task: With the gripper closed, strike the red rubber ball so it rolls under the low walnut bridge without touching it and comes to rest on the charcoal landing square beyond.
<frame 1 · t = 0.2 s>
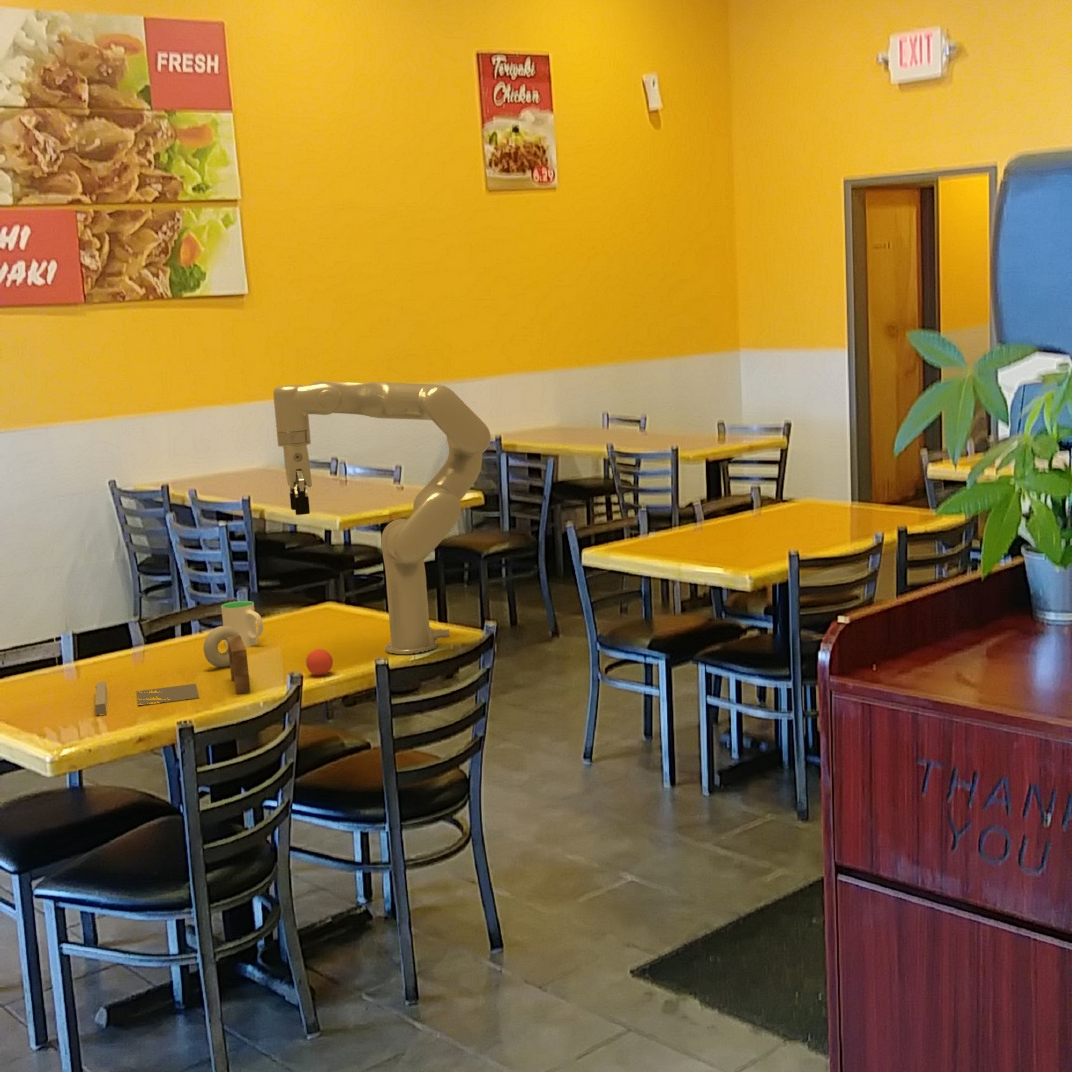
hand: (300, 511, 329), 36 cm above the table, tool pointing down, fingers open, 9 cm apart
ball: (319, 662, 322), on the table
mug: (247, 645, 358), on the table
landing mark: (167, 695, 313), on the table
stopper wall: (101, 703, 309), on the table
bridge: (240, 685, 317), on the table
donut: (225, 667, 336), on the table
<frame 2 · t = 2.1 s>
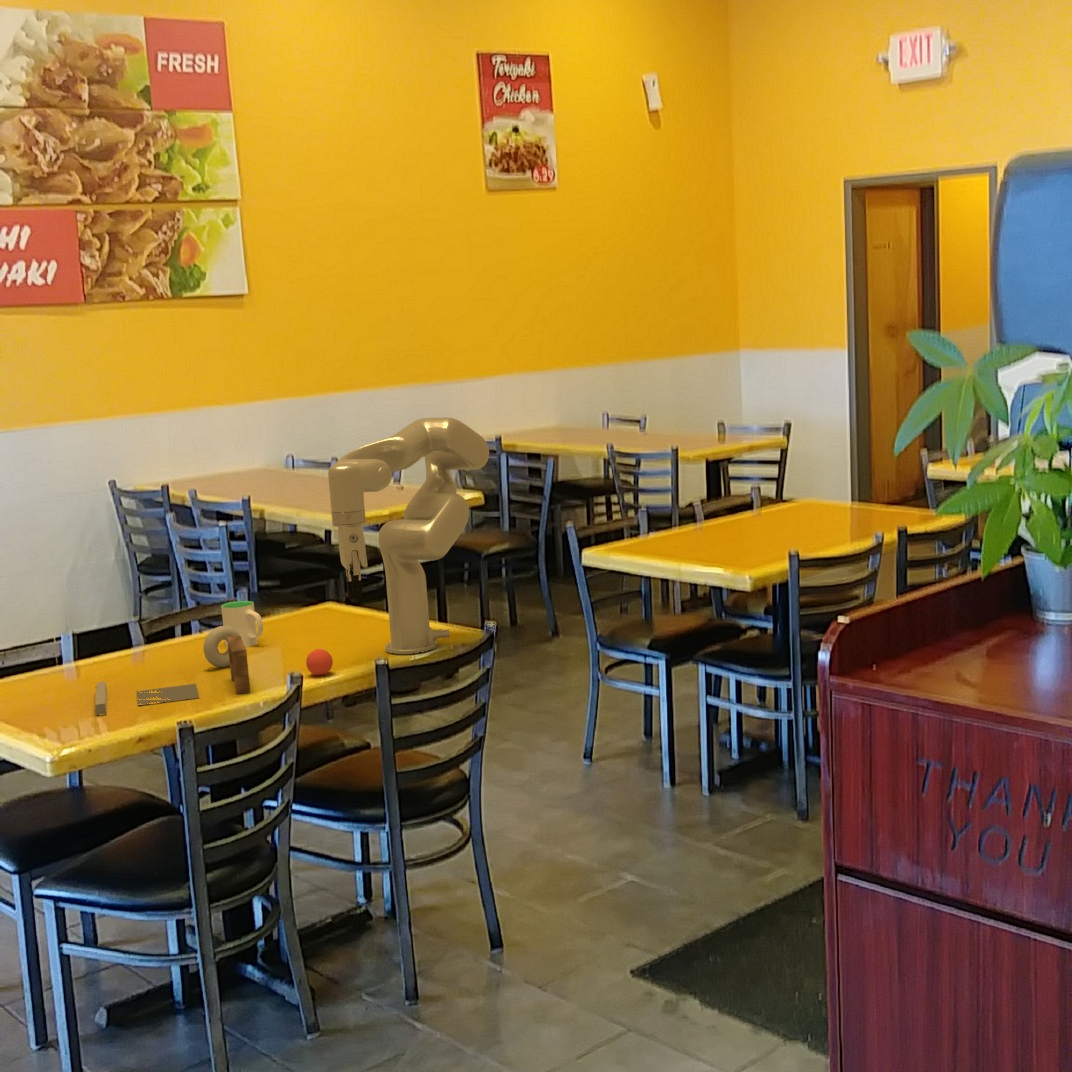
hand: (355, 597, 322), 17 cm above the table, tool pointing down, fingers closed
nothing on the table moved.
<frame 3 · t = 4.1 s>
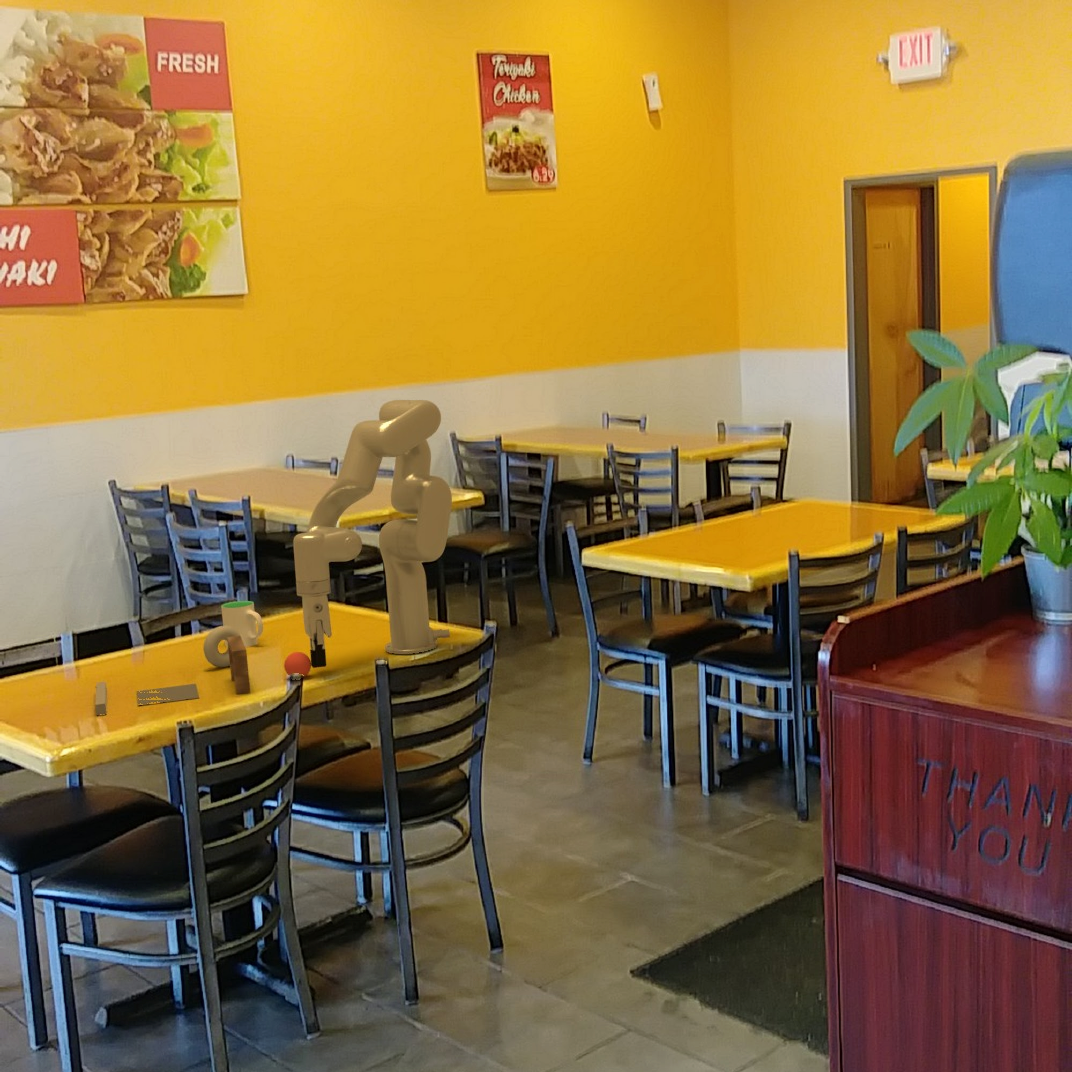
hand: (318, 666, 321), 2 cm above the table, tool pointing down, fingers closed
ball: (297, 665, 320), on the table
everything else where it was.
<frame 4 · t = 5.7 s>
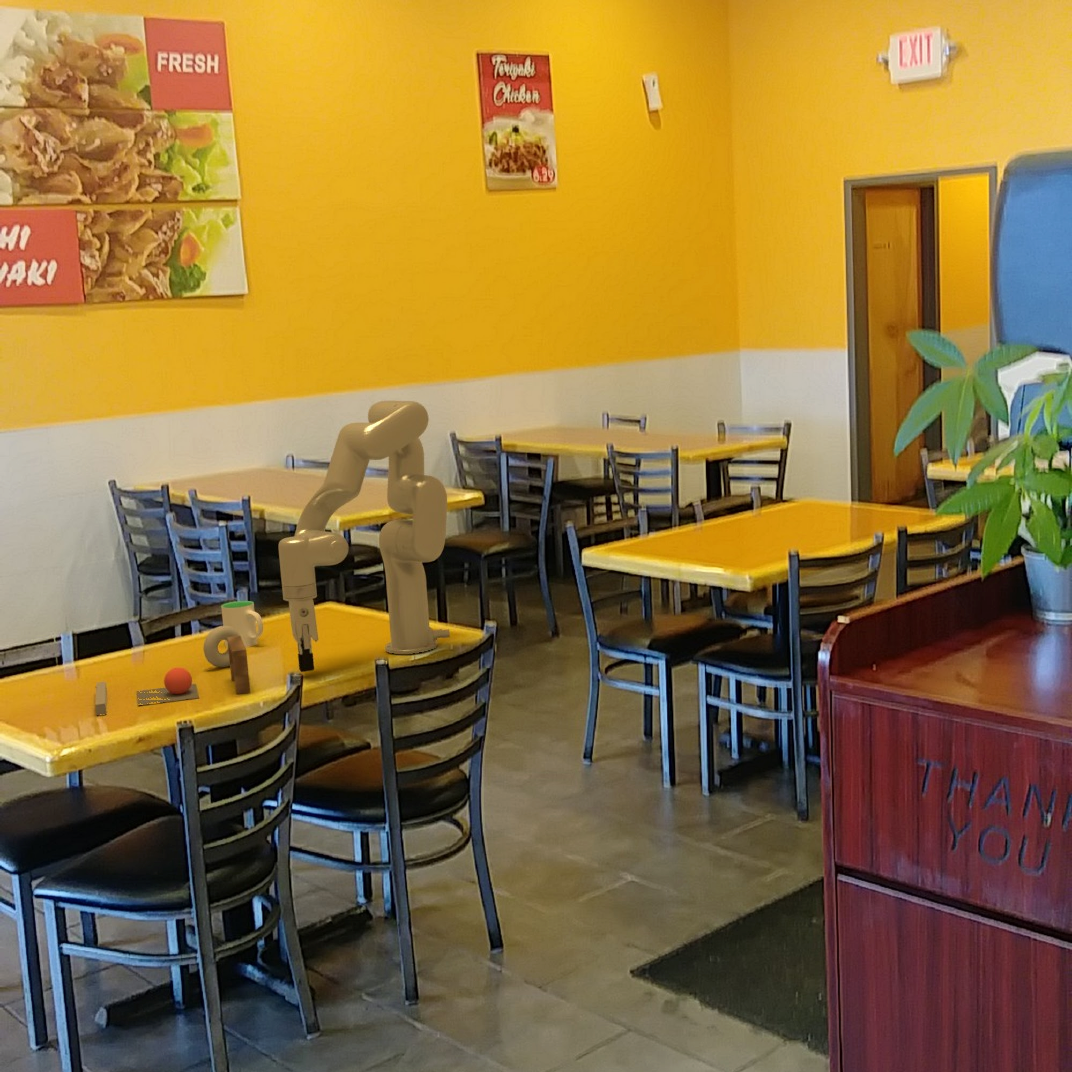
hand: (306, 670, 321), 2 cm above the table, tool pointing down, fingers closed
ball: (178, 681, 313), on the table
everything else where it was.
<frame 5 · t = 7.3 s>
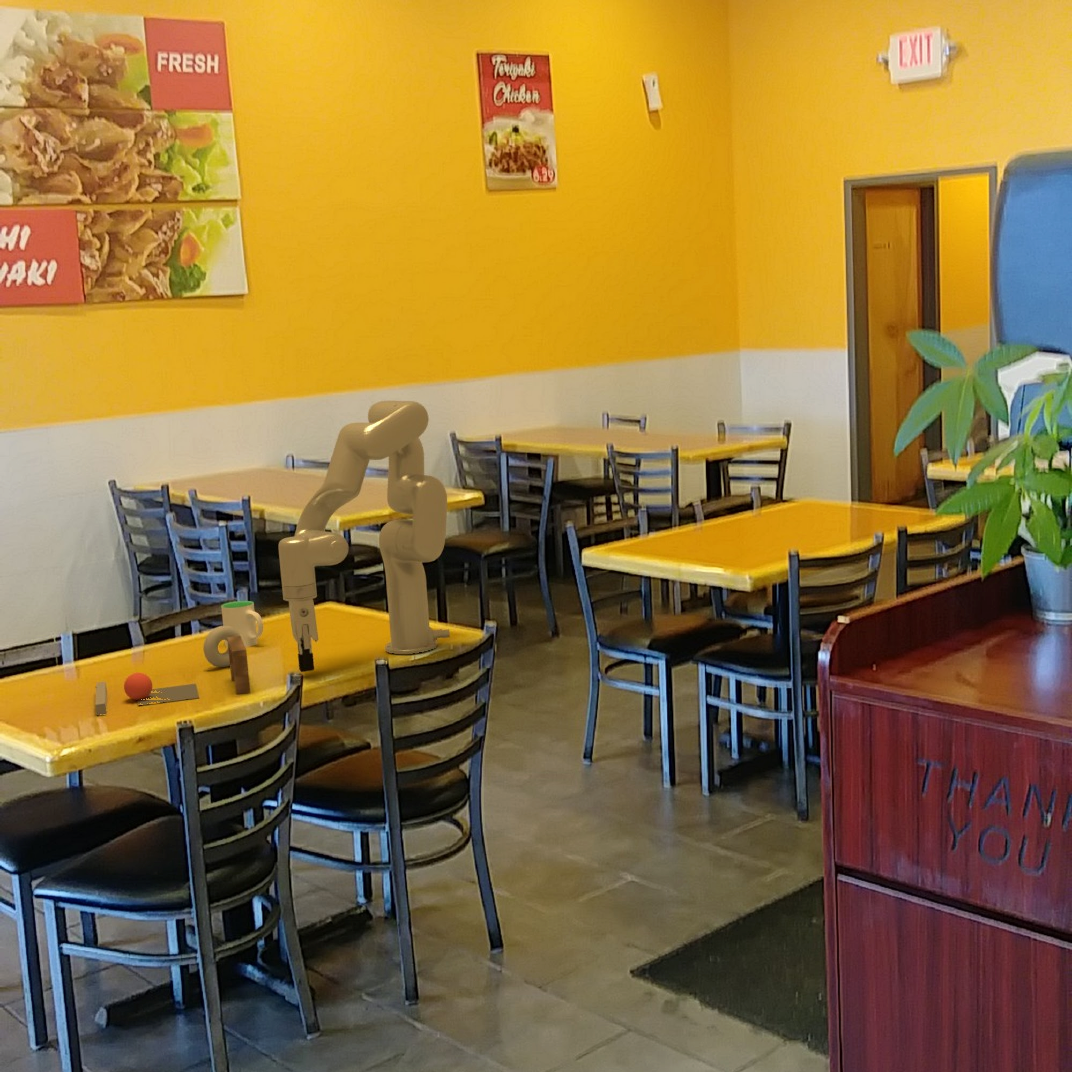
hand: (306, 670, 321), 2 cm above the table, tool pointing down, fingers closed
ball: (138, 686, 310), on the table
everything else where it was.
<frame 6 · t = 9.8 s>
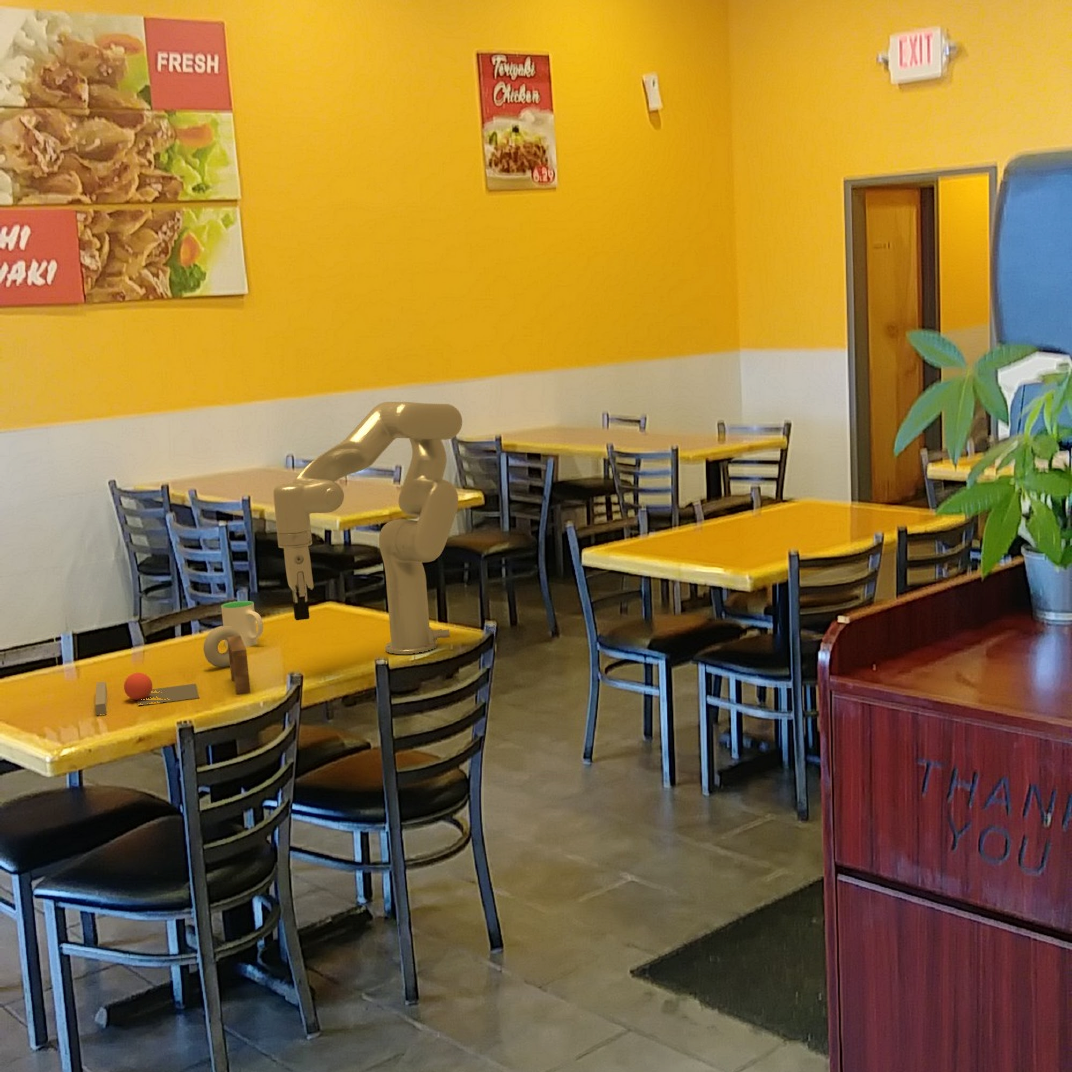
hand: (302, 618, 319), 14 cm above the table, tool pointing down, fingers closed
nothing on the table moved.
at the end: ball 6.0 cm from the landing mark (horizontally); ball never touched bridge; ball at rest at the end (0.0 cm/s) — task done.
